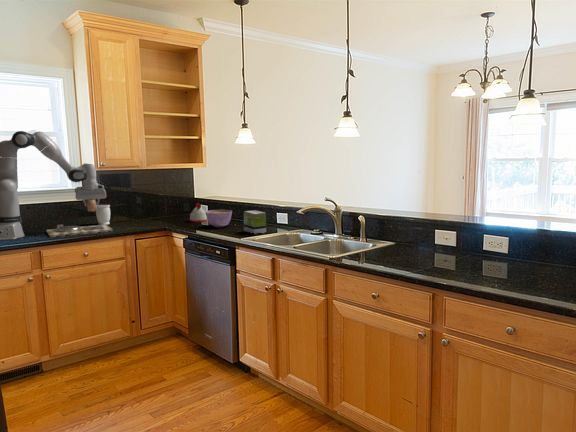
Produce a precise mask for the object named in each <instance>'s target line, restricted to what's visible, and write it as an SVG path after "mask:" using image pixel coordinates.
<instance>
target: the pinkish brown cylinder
mask: <svg viewBox="0 0 576 432" xmlns="http://www.w3.org/2000/svg"><path fill="white" fill-rule="evenodd" d="M86 203H87V206H86V207H87V211H88V212H96V210H97V206H96V203H97V199H87V200H86Z"/></svg>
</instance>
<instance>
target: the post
mask: <svg viewBox="0 0 576 432" xmlns="http://www.w3.org/2000/svg"><path fill="white" fill-rule="evenodd" d="M80 227H81V226H79V225H65V226H64V223H63V224H62V223H60V224H56V229H57V232H74V231H79V230H80Z"/></svg>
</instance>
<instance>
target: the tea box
mask: <svg viewBox="0 0 576 432" xmlns="http://www.w3.org/2000/svg"><path fill="white" fill-rule="evenodd" d="M243 231H244V232H247V233H249V232H250V233H249V234H252V233H254V234H253V235H258V234H257V233H262V234H266V233H267V213H266V212H265V211H259V210H256V209H255V210H245V211H243ZM265 232H266V233H265Z"/></svg>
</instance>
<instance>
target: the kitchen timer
mask: <svg viewBox="0 0 576 432" xmlns="http://www.w3.org/2000/svg"><path fill="white" fill-rule="evenodd" d="M189 222H190V223H205V222H208V220H207V216H206V211H205V210H204V209H203V208H202V207H201V204H200V203H199V202H197V203H196V204H195V207H194V208H193V209H192V211H191V213H190V214H189Z"/></svg>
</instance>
